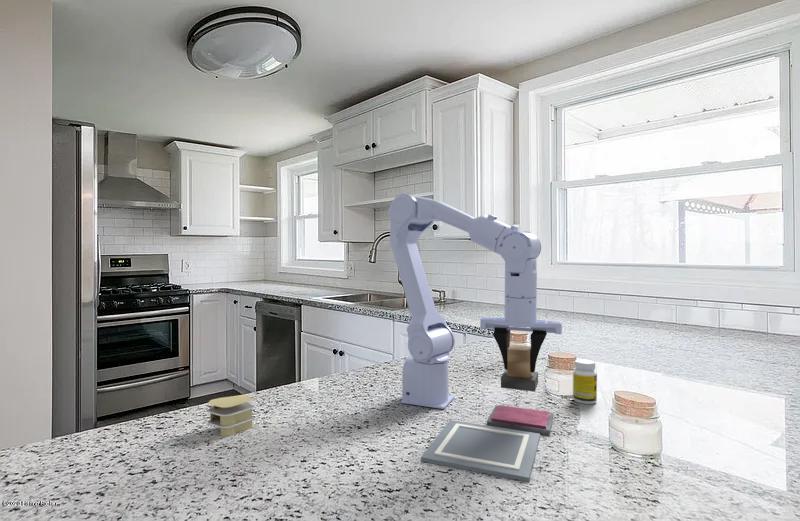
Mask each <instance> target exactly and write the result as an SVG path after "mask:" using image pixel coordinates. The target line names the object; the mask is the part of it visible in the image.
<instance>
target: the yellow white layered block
mask: <svg viewBox="0 0 800 521" xmlns="http://www.w3.org/2000/svg"><path fill="white" fill-rule="evenodd" d="M253 400H254V401H255V398H253V397H252V396H249V395H247V394H238V395H233V396H232V395H231V396H224V397H217V398H214V399H210V400H209V401H208V402H207V404H208V405H211V407H209V409H208V410H207V413H208V414H209V418H210V419H209V420H208V421H207V424H208V425H210V426H213V427H217V428H220V429H219V430H220V431H219V432H220V436H222V437H230V436H234V435H235V434H236V433H239V432H243V431H247V430H250V429H252V428H253V421H254V420H255V416H253V409H255V405H253V404H252V403H249V402H251V401H253Z"/></svg>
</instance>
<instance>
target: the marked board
mask: <svg viewBox="0 0 800 521" xmlns="http://www.w3.org/2000/svg"><path fill="white" fill-rule="evenodd" d="M540 439H541V434H539V433H532V432H526V431H519V430H513V429H506V428H500V427H493V426H487V424H486V425H485V424H481V423H480V424H479V423H473V422H468V421H467V422H465V421H458V420H452V419H449V421H448V422H447V423H446V425H445V426H444V427H443V428H442V430H441V431H440V432H439V433H438V434H437V436H436V437H435V438H434V440H432V442H431V443H430V445H429V446H428V448H427V449H426V450H425V451H424V453H423V454H422V455H421V457H420V461H421V462H423V463H424V462H425V463H430V464H435V465H439V466H443V467H444V466H445V467H450V468H451V467H452V468H454V469H455V468H456V469H461V470H465V471H471V472H476V473H482V474H487V475H491V476H492V475H493V476H495V477H502V478H505V479H506V478H507V479H512V480H518V481H523V482H527V483H529V482H530V479H531V475H532V473H533V467H534V463H535V459H536V455H537V452H538V447H539V443H540V441H541V440H540Z"/></svg>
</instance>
